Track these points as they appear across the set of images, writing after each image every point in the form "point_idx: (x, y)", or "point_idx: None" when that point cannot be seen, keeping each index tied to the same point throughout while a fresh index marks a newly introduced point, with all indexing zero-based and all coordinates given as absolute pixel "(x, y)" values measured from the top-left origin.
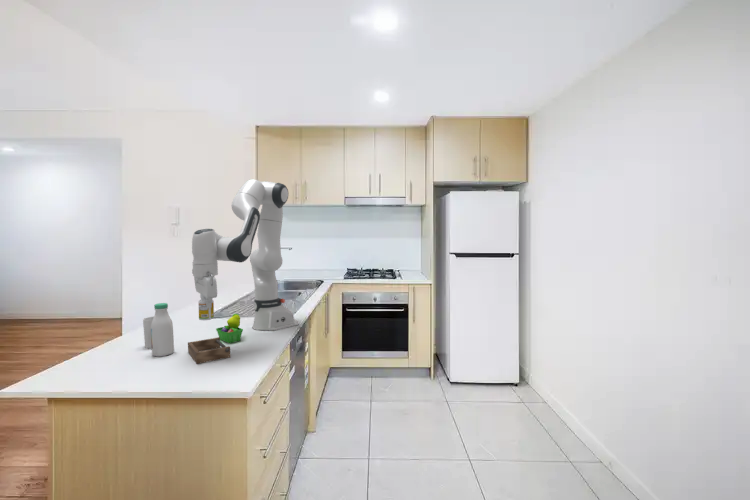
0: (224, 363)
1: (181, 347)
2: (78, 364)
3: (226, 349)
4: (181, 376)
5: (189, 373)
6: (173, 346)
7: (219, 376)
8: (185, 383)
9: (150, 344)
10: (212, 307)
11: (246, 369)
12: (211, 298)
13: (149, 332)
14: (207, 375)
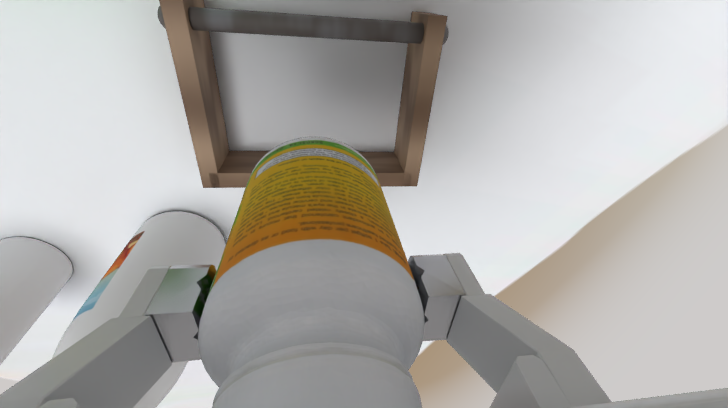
0: (487, 70)
1: (106, 174)
2: (188, 392)
3: (445, 41)
4: (484, 220)
5: (480, 199)
6: (185, 228)
7: (592, 129)
8: (546, 219)
9: (62, 284)
10: (383, 218)
11: (635, 14)
12: (574, 373)
13: (24, 333)
14: (547, 159)
